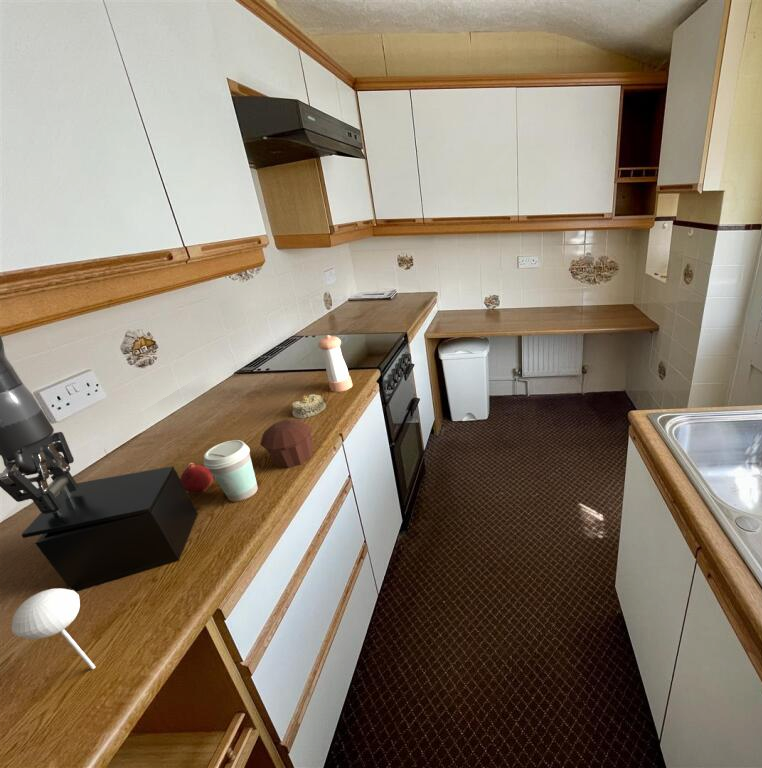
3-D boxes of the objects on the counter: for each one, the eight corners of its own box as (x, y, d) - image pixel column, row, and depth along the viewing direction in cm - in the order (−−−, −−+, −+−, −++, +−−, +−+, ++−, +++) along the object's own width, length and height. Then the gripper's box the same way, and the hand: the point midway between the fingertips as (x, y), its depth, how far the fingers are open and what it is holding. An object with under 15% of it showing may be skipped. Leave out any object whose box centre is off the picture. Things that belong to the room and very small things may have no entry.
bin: (72, 592, 71) (34, 543, 66) (107, 538, 82) (77, 492, 77) (178, 560, 76) (151, 512, 71) (197, 513, 87) (175, 469, 82)
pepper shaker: (356, 386, 142) (343, 334, 134) (336, 394, 138) (321, 340, 130) (346, 381, 147) (333, 330, 139) (327, 388, 142) (312, 336, 134)
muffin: (323, 442, 110) (313, 410, 106) (312, 467, 100) (300, 432, 96) (277, 448, 109) (265, 416, 105) (261, 474, 99) (247, 439, 95)
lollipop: (77, 698, 55) (12, 627, 49) (55, 682, 57) (-11, 612, 51) (130, 654, 60) (77, 584, 54) (107, 641, 62) (54, 572, 56)
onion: (203, 501, 91) (189, 472, 88) (181, 499, 92) (166, 471, 88) (223, 484, 96) (210, 456, 93) (202, 483, 97) (189, 455, 94)
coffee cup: (219, 492, 93) (198, 449, 88) (260, 476, 98) (243, 434, 93) (224, 512, 87) (202, 466, 82) (268, 493, 92) (250, 449, 87)
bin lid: (23, 538, 65) (7, 513, 63) (68, 488, 76) (56, 465, 74) (150, 512, 71) (140, 488, 69) (174, 469, 82) (166, 447, 80)
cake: (333, 407, 130) (330, 392, 128) (307, 422, 122) (303, 407, 120) (312, 399, 134) (308, 385, 132) (285, 414, 126) (280, 399, 124)
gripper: (4, 402, 68) (56, 483, 76) (-65, 445, 56) (6, 536, 64) (61, 393, 71) (107, 472, 78) (7, 432, 59) (67, 521, 66)
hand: (61, 500), depth 71 cm, fingers closed on bin lid, 5 cm apart
